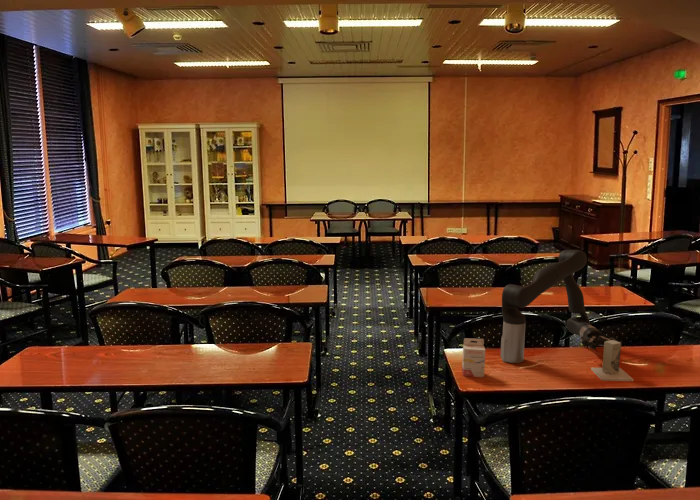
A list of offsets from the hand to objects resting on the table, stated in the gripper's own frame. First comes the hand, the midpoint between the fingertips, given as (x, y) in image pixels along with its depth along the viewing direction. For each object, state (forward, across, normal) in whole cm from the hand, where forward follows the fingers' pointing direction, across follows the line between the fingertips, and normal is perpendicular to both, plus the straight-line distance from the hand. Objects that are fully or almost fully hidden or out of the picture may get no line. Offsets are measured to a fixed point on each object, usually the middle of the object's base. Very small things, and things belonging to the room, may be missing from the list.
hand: (605, 347), depth 232 cm
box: (+7, 0, +8) cm, 11 cm away
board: (+8, 0, +9) cm, 12 cm away
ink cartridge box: (+10, -56, +9) cm, 58 cm away
